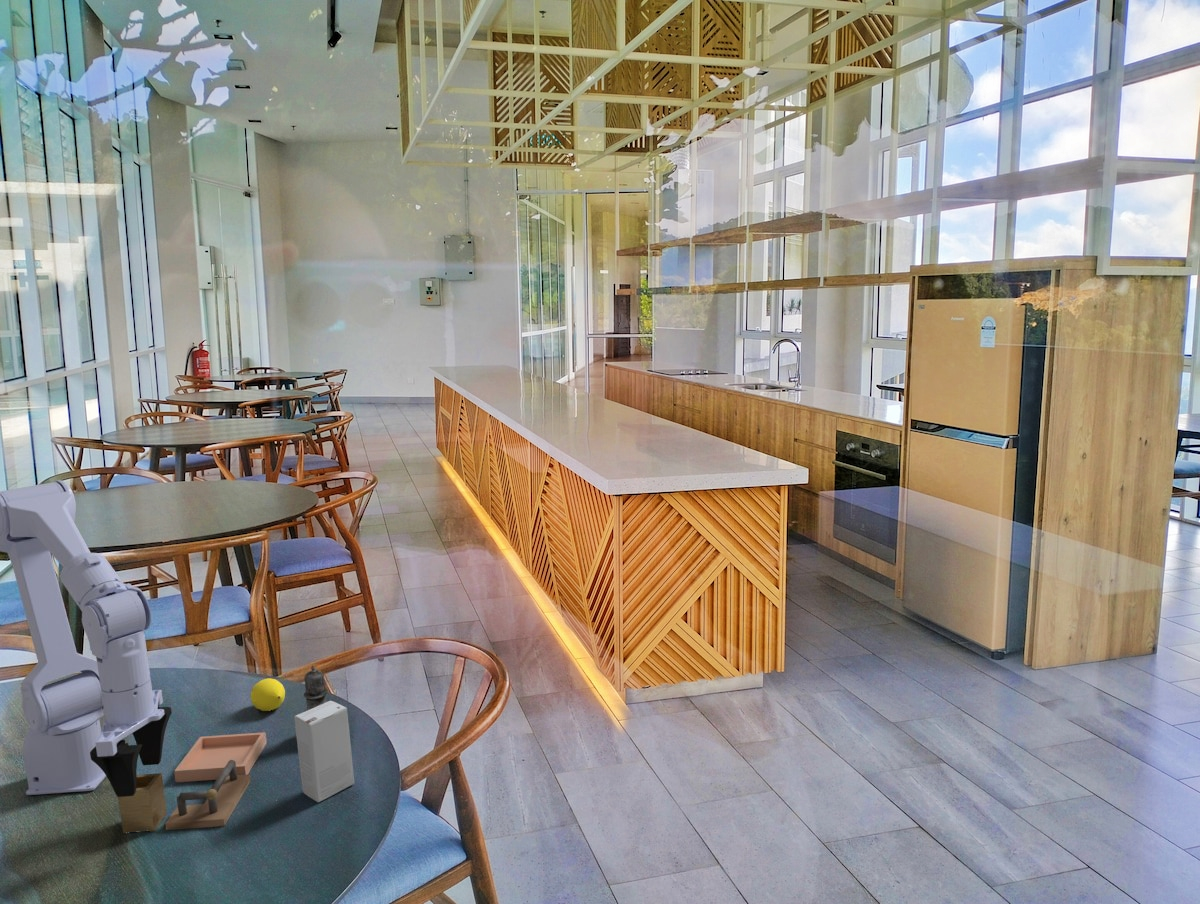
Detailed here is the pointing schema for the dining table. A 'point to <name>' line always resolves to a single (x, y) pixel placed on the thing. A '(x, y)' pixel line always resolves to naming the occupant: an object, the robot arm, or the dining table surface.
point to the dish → (220, 756)
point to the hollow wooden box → (144, 805)
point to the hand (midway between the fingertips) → (139, 778)
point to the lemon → (267, 694)
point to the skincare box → (324, 750)
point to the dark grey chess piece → (314, 689)
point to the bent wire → (210, 802)
